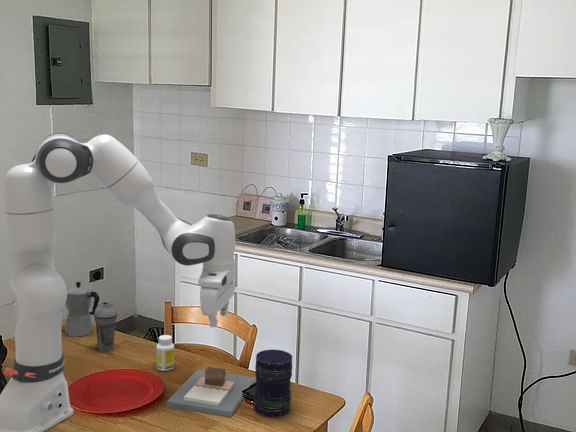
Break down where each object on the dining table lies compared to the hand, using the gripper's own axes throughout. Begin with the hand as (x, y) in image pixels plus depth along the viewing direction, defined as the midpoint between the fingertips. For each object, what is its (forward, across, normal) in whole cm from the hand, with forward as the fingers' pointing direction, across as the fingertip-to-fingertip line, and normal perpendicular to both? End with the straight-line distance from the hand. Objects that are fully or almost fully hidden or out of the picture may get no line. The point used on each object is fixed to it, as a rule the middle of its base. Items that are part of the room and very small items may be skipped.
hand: (218, 320), depth 179 cm
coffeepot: (+20, -28, -58) cm, 68 cm away
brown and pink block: (+19, +2, -1) cm, 19 cm away
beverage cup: (+20, -18, -44) cm, 51 cm away
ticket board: (+20, +3, -1) cm, 21 cm away
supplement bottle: (+21, -10, -20) cm, 30 cm away
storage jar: (+21, +7, +17) cm, 28 cm away
